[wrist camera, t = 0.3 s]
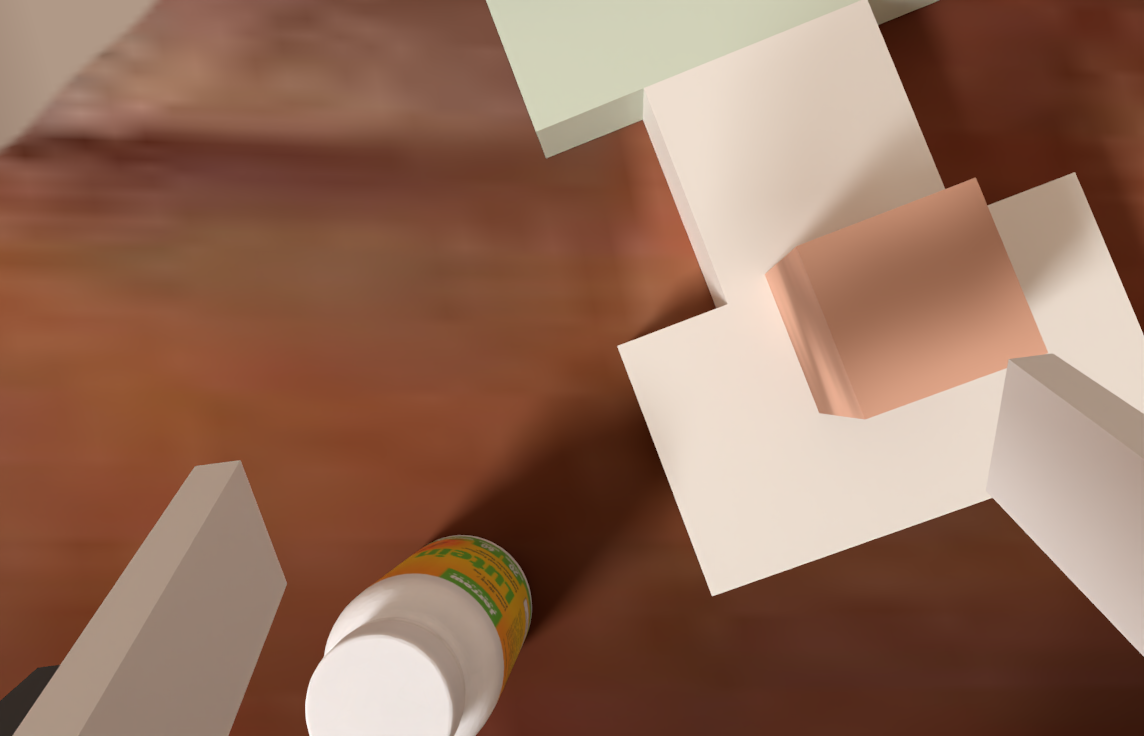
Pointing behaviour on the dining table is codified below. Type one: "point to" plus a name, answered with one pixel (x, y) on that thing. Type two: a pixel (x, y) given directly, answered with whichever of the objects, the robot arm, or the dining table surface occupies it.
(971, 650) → the dining table surface
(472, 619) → the supplement bottle
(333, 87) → the dining table surface
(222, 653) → the robot arm
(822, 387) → the block
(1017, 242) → the board
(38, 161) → the dining table surface
